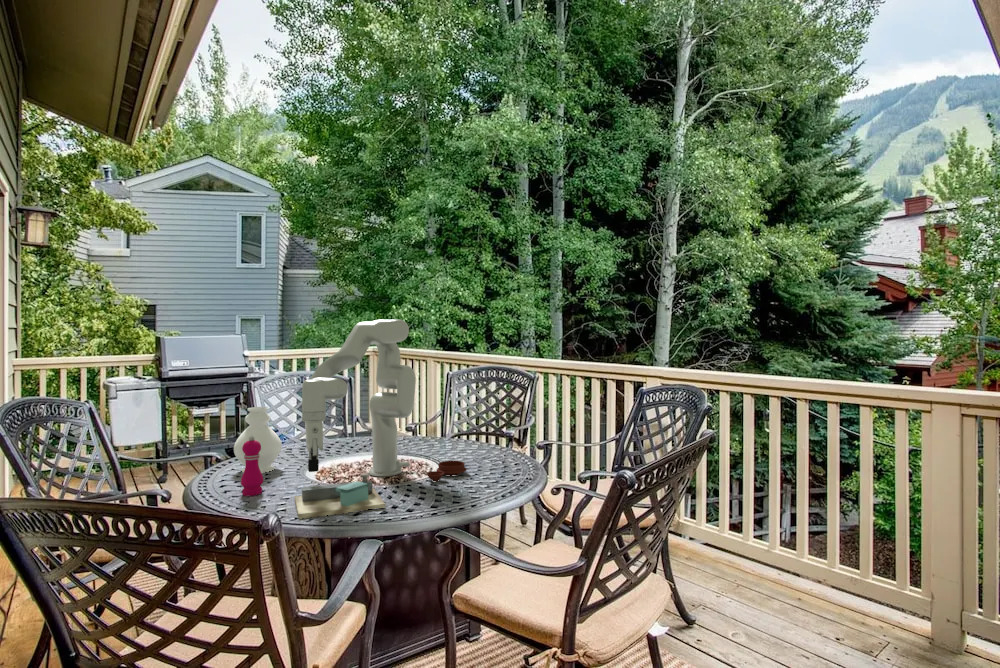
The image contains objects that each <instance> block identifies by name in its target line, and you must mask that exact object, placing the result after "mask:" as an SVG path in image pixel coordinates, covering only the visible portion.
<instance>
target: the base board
mask: <svg viewBox="0 0 1000 668" xmlns="http://www.w3.org/2000/svg"><path fill="white" fill-rule="evenodd" d="M369 477H370V474H369V473H362V474H361V473H360V478H361V481H362V482H363V483H366V482H367V481H368V478H369ZM294 504H295V509H296V513H297V514H296V515H297V518H299V519H298V520H302V518H304V519H311V518H310V517H312V518H318V517H317V516H320V517H328V516H335V514H336V515H342V513H344V514H349V513H348V512H353V513H356V512H355V511H361V510H368V509H375V508H383V507H385V508H386V503H385V501H384V500H383V498H382V497H381V496H380V494H379V493H378V492H377V490H376V488H374V487H373V493H372V494H369V495H368V499H367V500H364V501H361V502H358V503H355V504H353V505H350V506H343V505H340V498H331V499H322V500H313V501H305V502H303V501H302V495H296V496H294ZM361 512H362V511H361ZM327 515H328V516H327Z"/></svg>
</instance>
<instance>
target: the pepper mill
mask: <svg viewBox="0 0 1000 668" xmlns="http://www.w3.org/2000/svg"><path fill="white" fill-rule="evenodd" d="M249 440H250V441H247V442H245V443H244V445H243V447H242V450H243V452H244V453H245V455H244V459H245V461H246V467H245V466H244V468H245V471H244V473H242V476H241V477H240V478H241V479H240V485H241V486H242V487H243V488H242V491H241V492H242V496H246V497H253V496H260V495H261V494H262V493H263V487H262V484H263V483H264V476H263V473H261V471H260V469H259V465H258V459H259V458H260V457H259V455H260V454H259V452H260V450H261V444H260V443H259V442H258V441H256V440H254V436H250V437H249Z"/></svg>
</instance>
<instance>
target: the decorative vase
mask: <svg viewBox="0 0 1000 668" xmlns="http://www.w3.org/2000/svg"><path fill="white" fill-rule="evenodd" d="M267 410H269V409H268V406H255V407H254V406H253V407H248V408H247V410H246V411H247V412H249V413H248V414H246V416H245V417H244V421H245V422H246V424H248V426H247V427H246V428H245V429H244V430H243V431H242V433H241V434H240V435H239V436H238V437H237V438H236V441H235V443H234V445H233V453H234V456H235V457H236V458H237V460H238V461H239V462H240V463H241V464H242V465H243V466H244V468H242V469H241V470H240V471H242V472H244V471H245V467H246V461H245V459H244V455H245V453H244V452H243V450H242V447H243V445H244V443H245V442H247V441H250V440H249V437H250V436H254V440H256V441H258V442H259V443H260V444H261V450H260V452H259V454H260V455H259V457H260V458H259V459H258V465H259V469H260V471H261V473H262V474H265V472H267V473H270V472H269V471H271V472H273V471H275V470H274V469H276V467H275V466H274V465H273V463H274V461H275V460H276V459H277V458H278V456H279V455H280V453H281V451H282V448H283V447H282V446H283V444H282V440H281V439H280V437H279V435H278V434H277V433H276V432H275V431H274V430H273V428H271V427H270V426H269V425H267V424H268V422H269V421H270V420H271V415H270V414H269V413H268V412H267ZM272 470H273V471H272ZM242 472H241V473H242Z"/></svg>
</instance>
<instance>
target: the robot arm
mask: <svg viewBox="0 0 1000 668" xmlns="http://www.w3.org/2000/svg"><path fill="white" fill-rule="evenodd" d="M409 332H410V328H409V325H408V323H407V322H406V321H405V320H403V319H375V320H374V319H373V320H371V321H361V322H358V323H356V324H355V325H353V328H352V329H351V331H350V333H349V334H348V336H347V338H346V340H345V341H344V343H342V345H341V347H340V349H339V350H338V351H337V352H336V353H334V354H332V355H331V356H329V357H328V358H327V359H326V360H324V361H323V362H322V363H320V364H319V365H318V367H317V368H316V369H315V371H314V372H313V374H312V376H311V377H310V379H306V380H303V382H302V389H301V390H302V391H301V392H302V393H301V394H302V396H301V399H302V400H301V401H302V402H301V405H302V408H301V411H302V412H301V422H303V423H305V445H306V450H307V451H308V462H307V471H308V472H309V473H313V472H314V473H315V472H319V467H320V466H319V464H320V463H319V461H320V459H319V450H320V452H323V451H324V425H323V422H326V416H327V415H326V414H327V413H326V408H327V407H326V403H327V401H326V400H331V401H338V400H341V399H343V398H344V397H345V396H346V395H347V394H348V390H349V387H348V384H347V382H346V381H345V380H343V379H342V378H339V377H335V376H336V375H337V374H339V373H341V372H343V371H346V370H349V369H351V368H354V367H355V366H358V365H359V364H360V363H361V361H362V360H363V359H364V356H365V354H366V353H367V352H368V349H369V348H370V346H371V345H375V346H376V348H377V352H378V356H377V357H378V358H377V368H376V378H375V379H376V384H377V386H378V387H379V388H381V389H387V390H388V389H389V390H396V392H389V391H388V392H387V391H382V392H381V391H379V392H376V393H374V394H373V395H372V396H371V398H370V400H369V404H368V405H369V411H370V412H369V413H370V416H371V424H372V425H371V426H372V429H371V430H372V467H371V468H370V469H369V470H368V474H369V476H371V477H383V478H384V477H392V476H397V475H400V474H401V473H402V468H404V467H410V465H411V463H410V461H400V460H399V459H398V426H397V423H396V420H395V419H406V418H408V417H409V416H411V413H412V412H413V410H414V404H415V403H414V401H415V392H416V381H417V378H416V373H415V370H414V369H413V368H412V367H411V366H409V365H405V364H401V351H400V348H399V346H398V344H397V343H401V342H403V341H405V340H406V339H407V338H408V336H409Z"/></svg>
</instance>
